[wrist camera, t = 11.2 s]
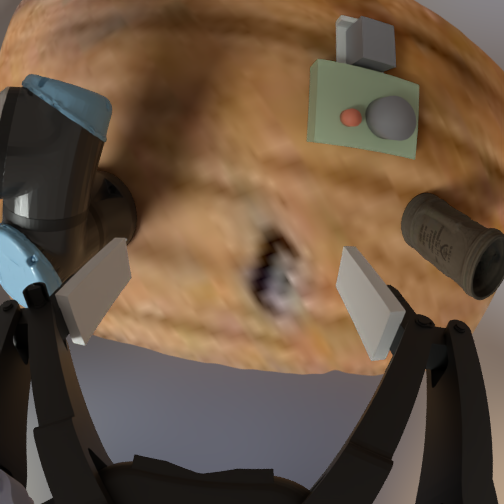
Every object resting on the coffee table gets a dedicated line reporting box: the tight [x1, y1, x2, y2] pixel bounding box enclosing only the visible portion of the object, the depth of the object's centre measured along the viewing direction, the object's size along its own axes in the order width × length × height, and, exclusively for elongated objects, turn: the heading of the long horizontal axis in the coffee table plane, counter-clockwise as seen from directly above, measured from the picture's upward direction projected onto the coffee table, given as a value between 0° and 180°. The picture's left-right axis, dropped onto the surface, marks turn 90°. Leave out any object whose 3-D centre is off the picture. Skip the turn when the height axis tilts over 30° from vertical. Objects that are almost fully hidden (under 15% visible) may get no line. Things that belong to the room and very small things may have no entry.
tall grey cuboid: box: [346, 16, 396, 72], centre depth 28 cm, size 5×7×7 cm
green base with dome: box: [307, 15, 419, 160], centre depth 29 cm, size 16×22×9 cm
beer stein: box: [401, 193, 504, 300], centre depth 33 cm, size 15×11×20 cm
